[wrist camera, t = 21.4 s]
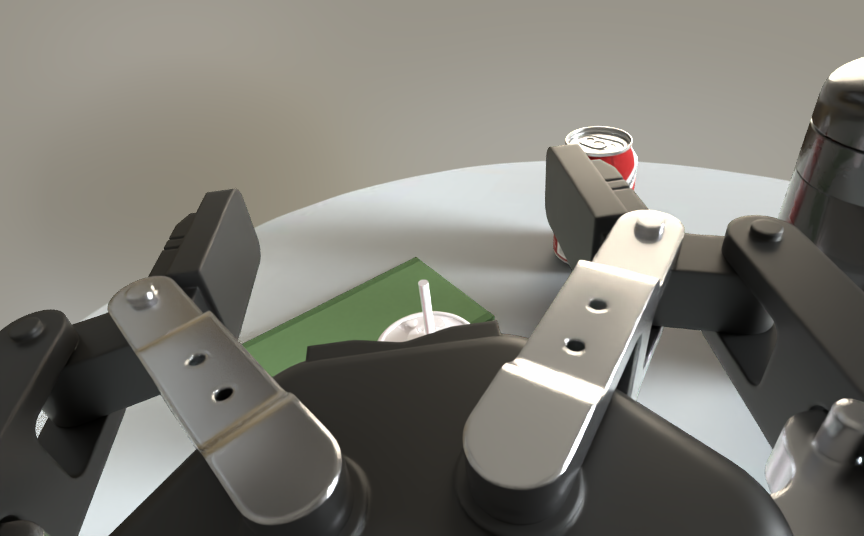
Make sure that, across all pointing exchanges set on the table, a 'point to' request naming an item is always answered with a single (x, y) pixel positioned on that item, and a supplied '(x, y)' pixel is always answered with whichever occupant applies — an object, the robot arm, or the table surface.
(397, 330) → the smoothie
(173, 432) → the table surface
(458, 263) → the table surface
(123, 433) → the table surface
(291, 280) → the table surface
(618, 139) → the soda can
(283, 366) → the green flat rectangular slab
